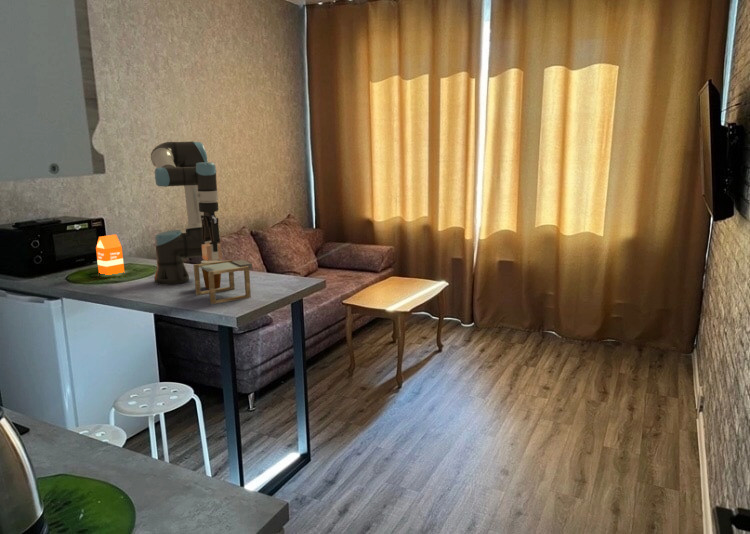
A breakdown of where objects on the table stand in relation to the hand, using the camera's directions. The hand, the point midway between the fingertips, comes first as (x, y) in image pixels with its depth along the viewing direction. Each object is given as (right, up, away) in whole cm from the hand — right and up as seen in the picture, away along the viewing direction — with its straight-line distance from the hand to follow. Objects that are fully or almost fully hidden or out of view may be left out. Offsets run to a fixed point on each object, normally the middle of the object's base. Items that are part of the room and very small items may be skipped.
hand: (212, 258), depth 230 cm
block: (0, 0, 0) cm, 0 cm away
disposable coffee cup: (-6, -13, +20) cm, 25 cm away
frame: (+3, -16, +5) cm, 17 cm away
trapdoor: (+5, -5, +5) cm, 9 cm away
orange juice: (-61, -8, +43) cm, 75 cm away
